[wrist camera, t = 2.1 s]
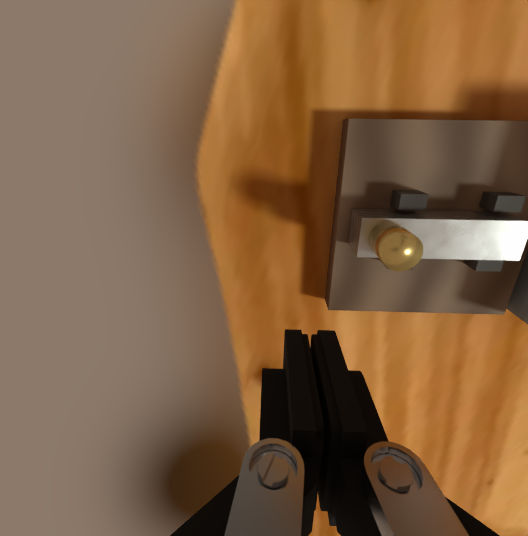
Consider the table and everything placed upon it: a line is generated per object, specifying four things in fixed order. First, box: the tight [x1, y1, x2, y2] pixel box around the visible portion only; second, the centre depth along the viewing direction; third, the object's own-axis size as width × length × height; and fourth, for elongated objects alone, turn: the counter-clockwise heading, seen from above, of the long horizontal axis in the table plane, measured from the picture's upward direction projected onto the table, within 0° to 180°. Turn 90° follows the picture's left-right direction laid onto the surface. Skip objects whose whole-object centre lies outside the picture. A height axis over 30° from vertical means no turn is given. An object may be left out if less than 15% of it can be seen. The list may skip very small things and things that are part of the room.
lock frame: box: [325, 119, 528, 324], centre depth 24 cm, size 25×16×7 cm, turn 89°
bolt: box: [348, 209, 528, 272], centre depth 23 cm, size 12×3×6 cm, turn 89°
